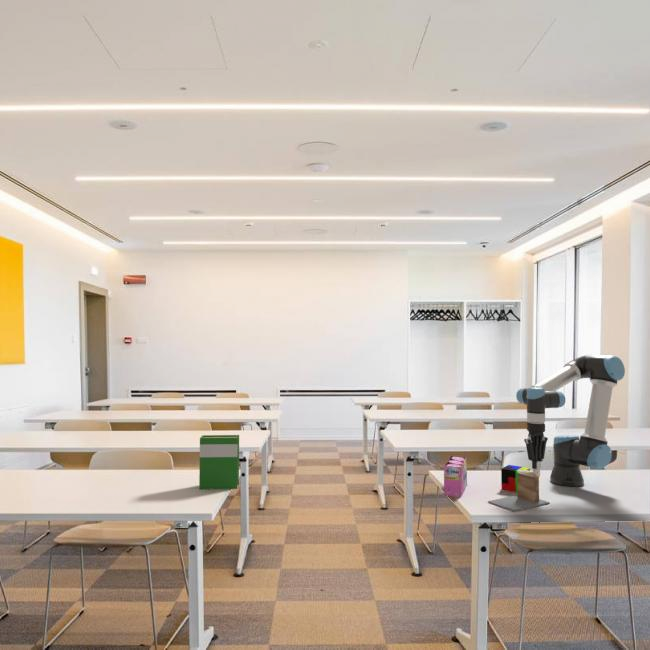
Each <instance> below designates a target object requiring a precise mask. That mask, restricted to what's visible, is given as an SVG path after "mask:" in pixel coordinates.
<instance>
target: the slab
mask: <svg viewBox="0 0 650 650" xmlns="http://www.w3.org/2000/svg"><path fill="white" fill-rule="evenodd" d="M517 480H518V493H517V495H518V498H519V499H522V500H526V501H529V502H532V503H535V502H539V499H540V477H539V473H535V472H533V471H531V470H530V471H527V470H518V471H517Z"/></svg>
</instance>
